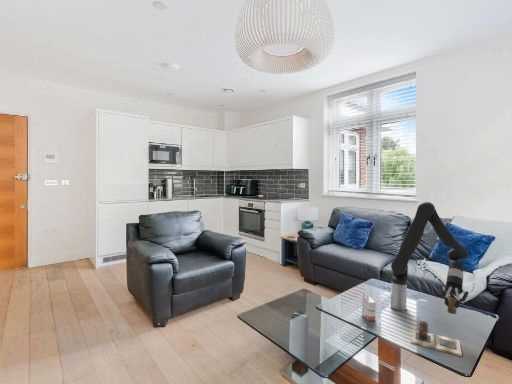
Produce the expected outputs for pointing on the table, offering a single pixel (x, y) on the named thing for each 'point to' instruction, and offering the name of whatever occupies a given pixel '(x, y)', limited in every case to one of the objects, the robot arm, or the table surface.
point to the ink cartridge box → (368, 308)
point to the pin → (423, 329)
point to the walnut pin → (452, 305)
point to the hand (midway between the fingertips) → (451, 306)
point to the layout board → (437, 342)
